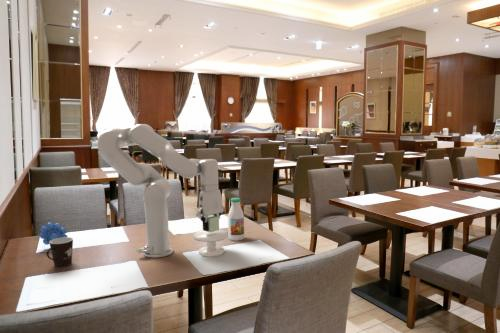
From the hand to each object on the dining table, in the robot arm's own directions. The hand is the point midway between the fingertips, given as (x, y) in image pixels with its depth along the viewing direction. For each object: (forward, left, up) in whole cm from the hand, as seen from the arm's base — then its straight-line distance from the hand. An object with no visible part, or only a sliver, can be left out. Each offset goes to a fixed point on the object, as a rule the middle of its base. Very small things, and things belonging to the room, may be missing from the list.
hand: (211, 228), depth 167 cm
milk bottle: (+21, +6, -11) cm, 24 cm away
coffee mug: (-51, +35, -11) cm, 63 cm away
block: (0, 0, -1) cm, 1 cm away
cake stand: (0, 0, -11) cm, 11 cm away
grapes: (-44, +60, -11) cm, 75 cm away
